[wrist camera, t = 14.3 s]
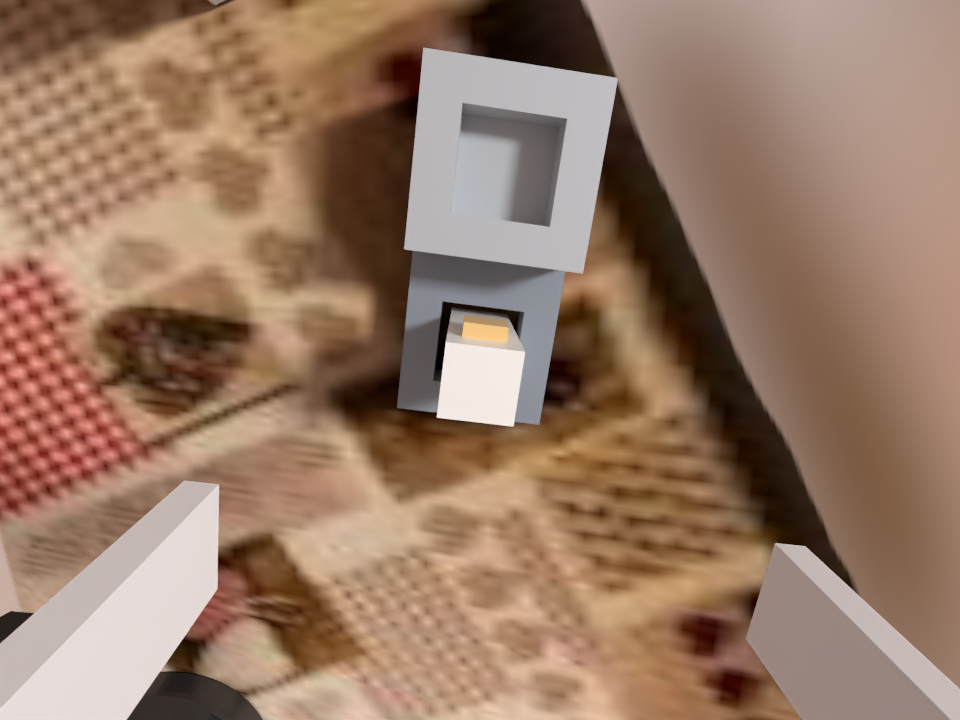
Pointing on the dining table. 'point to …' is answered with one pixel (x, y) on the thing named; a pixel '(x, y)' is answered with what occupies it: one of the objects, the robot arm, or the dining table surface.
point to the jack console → (498, 205)
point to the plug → (480, 368)
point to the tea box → (216, 1)
